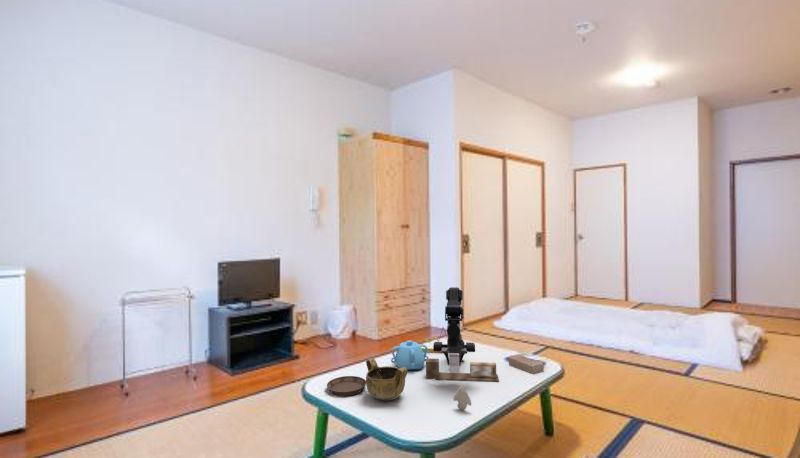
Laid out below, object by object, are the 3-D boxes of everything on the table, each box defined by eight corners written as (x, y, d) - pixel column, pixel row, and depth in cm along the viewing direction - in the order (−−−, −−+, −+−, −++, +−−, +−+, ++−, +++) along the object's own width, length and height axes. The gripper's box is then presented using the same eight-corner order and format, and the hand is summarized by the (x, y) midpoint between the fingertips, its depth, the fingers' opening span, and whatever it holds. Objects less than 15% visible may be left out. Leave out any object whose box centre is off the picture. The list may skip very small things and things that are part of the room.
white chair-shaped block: (449, 372, 189) (449, 359, 189) (449, 365, 198) (449, 353, 198) (459, 373, 189) (459, 359, 189) (459, 366, 198) (459, 353, 198)
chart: (412, 353, 243) (411, 327, 243) (412, 351, 246) (412, 325, 246) (465, 354, 240) (465, 327, 239) (465, 352, 243) (465, 326, 243)
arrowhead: (452, 409, 170) (451, 384, 170) (455, 406, 172) (454, 382, 172) (470, 414, 166) (469, 388, 165) (473, 411, 168) (472, 386, 167)
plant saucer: (343, 401, 180) (343, 394, 179) (319, 390, 192) (318, 383, 192) (374, 389, 192) (374, 382, 192) (349, 379, 205) (349, 373, 204)
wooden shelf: (425, 379, 202) (425, 362, 202) (426, 373, 210) (426, 357, 210) (499, 382, 198) (498, 364, 198) (497, 375, 206) (497, 359, 205)
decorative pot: (432, 366, 220) (432, 340, 220) (411, 375, 208) (411, 347, 208) (408, 359, 231) (408, 334, 231) (387, 367, 219) (387, 341, 219)
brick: (544, 371, 211) (544, 362, 211) (533, 375, 207) (532, 365, 206) (519, 362, 225) (519, 353, 225) (507, 365, 221) (507, 356, 221)
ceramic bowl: (418, 399, 180) (418, 364, 180) (390, 412, 168) (389, 374, 168) (382, 385, 196) (381, 353, 195) (353, 396, 184) (353, 362, 183)
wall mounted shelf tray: (470, 377, 201) (470, 364, 201) (470, 374, 205) (470, 362, 205) (496, 378, 200) (496, 365, 200) (495, 375, 203) (495, 362, 203)
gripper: (432, 335, 187) (432, 371, 187) (475, 336, 184) (476, 372, 185) (433, 329, 198) (434, 362, 198) (474, 330, 196) (474, 363, 196)
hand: (454, 365), depth 194 cm, fingers closed on white chair-shaped block, 4 cm apart
